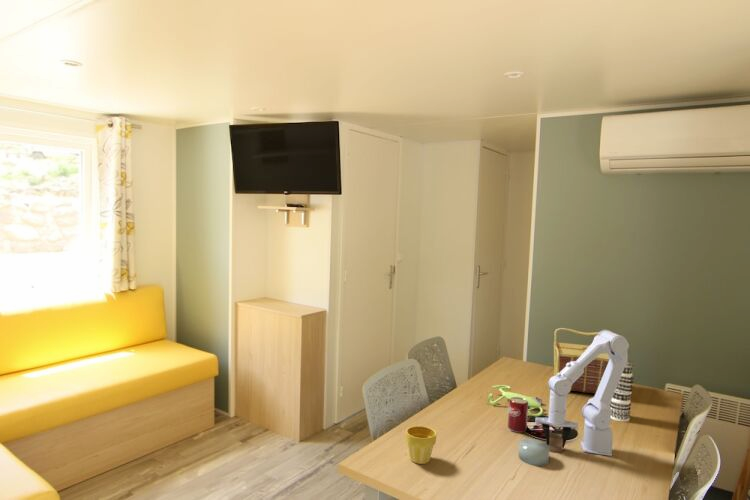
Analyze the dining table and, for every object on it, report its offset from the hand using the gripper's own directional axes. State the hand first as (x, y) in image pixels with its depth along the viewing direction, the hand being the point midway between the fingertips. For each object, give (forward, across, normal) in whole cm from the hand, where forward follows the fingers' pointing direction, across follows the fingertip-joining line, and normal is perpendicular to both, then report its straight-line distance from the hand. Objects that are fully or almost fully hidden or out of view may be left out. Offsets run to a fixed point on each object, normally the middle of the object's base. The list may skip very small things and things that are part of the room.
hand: (555, 445), depth 175 cm
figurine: (+2, +14, -41) cm, 43 cm away
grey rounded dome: (+2, +8, +10) cm, 13 cm away
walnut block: (+2, 0, 0) cm, 2 cm away
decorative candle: (+2, -30, -41) cm, 51 cm away
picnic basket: (+2, -20, -75) cm, 78 cm away
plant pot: (+2, +46, +24) cm, 52 cm away
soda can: (+2, +13, -13) cm, 18 cm away
